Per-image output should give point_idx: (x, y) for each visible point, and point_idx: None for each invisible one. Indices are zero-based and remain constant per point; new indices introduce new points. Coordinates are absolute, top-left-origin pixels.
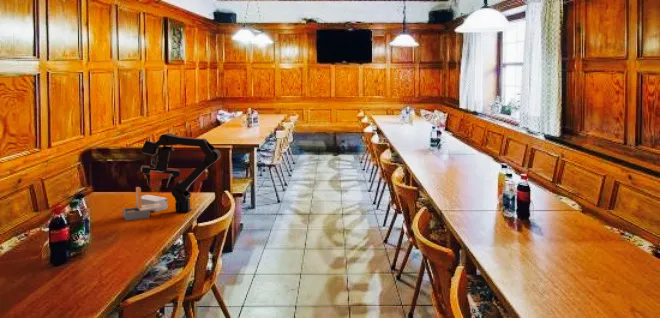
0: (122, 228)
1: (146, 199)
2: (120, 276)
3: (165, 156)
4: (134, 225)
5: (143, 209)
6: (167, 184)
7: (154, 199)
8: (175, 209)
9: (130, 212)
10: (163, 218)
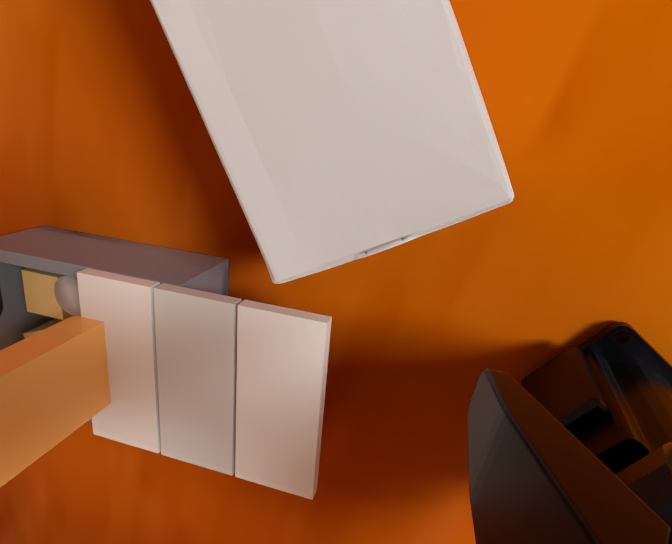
0: (36, 493)
1: (194, 94)
2: None
3: None
4: (101, 491)
5: (122, 440)
6: (495, 477)
7: (295, 179)
8: (522, 384)
9: None
10: (319, 490)
